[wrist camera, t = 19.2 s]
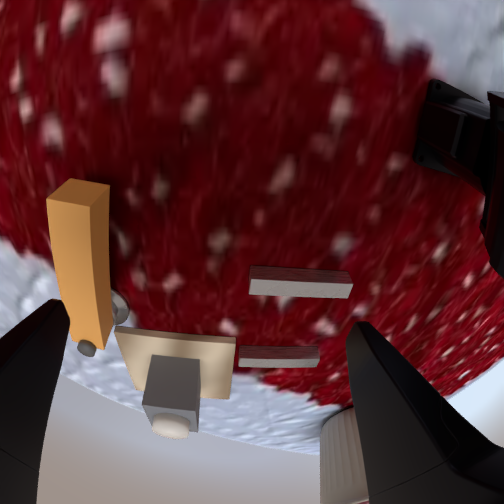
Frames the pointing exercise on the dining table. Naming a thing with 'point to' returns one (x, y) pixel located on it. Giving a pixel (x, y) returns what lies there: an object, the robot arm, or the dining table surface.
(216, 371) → the board
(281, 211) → the dining table surface
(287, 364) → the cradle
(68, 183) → the latch
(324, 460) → the canister
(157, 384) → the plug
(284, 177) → the dining table surface
